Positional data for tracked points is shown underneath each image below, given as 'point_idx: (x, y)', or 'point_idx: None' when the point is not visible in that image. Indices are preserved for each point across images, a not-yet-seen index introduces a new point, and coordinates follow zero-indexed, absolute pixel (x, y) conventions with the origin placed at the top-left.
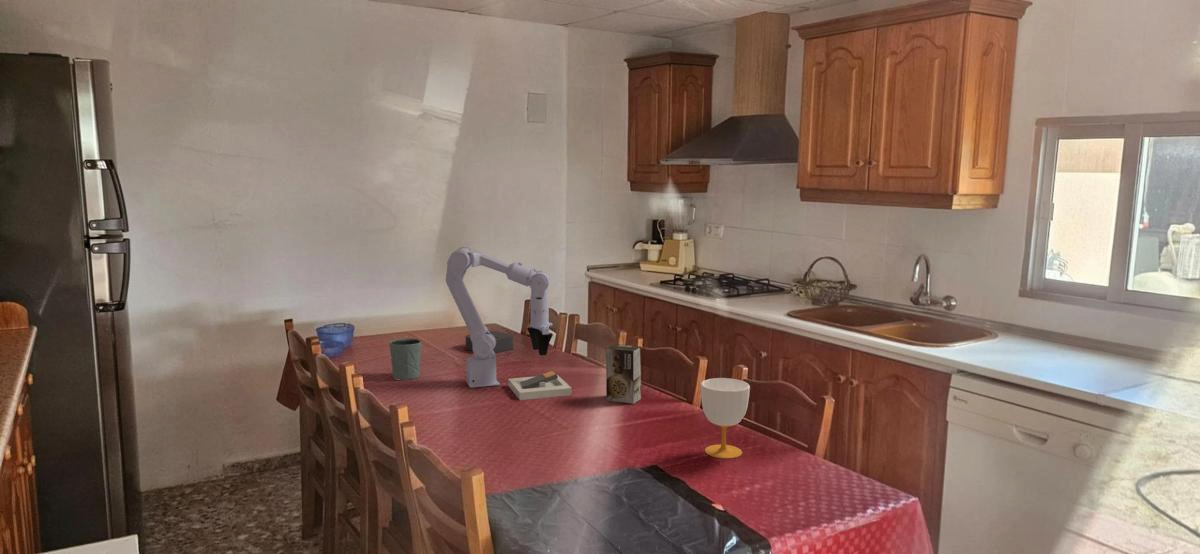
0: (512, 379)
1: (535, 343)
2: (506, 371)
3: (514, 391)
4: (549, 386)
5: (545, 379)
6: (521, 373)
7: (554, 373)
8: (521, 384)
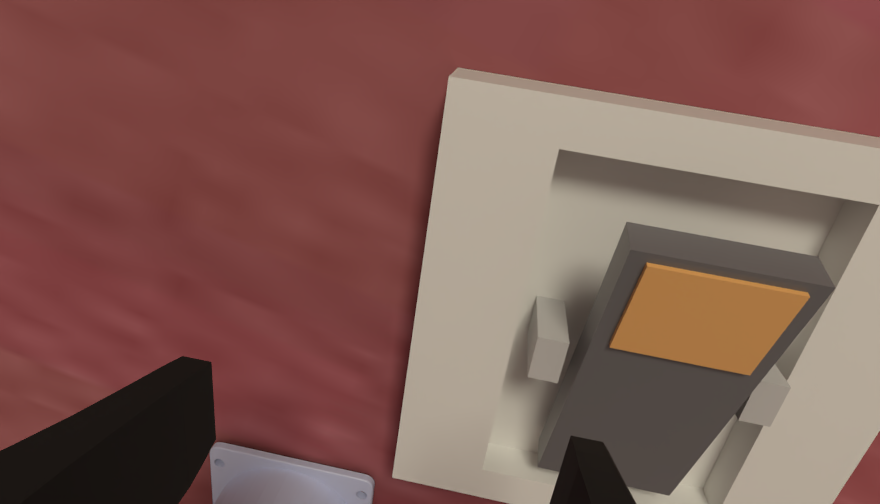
0: (423, 465)
1: (149, 499)
2: (31, 302)
3: None
4: None
5: (757, 375)
6: (105, 233)
7: (772, 293)
8: None
